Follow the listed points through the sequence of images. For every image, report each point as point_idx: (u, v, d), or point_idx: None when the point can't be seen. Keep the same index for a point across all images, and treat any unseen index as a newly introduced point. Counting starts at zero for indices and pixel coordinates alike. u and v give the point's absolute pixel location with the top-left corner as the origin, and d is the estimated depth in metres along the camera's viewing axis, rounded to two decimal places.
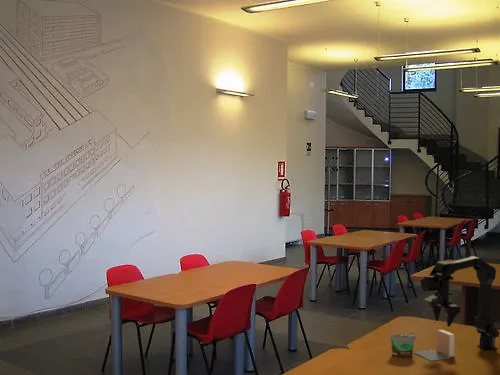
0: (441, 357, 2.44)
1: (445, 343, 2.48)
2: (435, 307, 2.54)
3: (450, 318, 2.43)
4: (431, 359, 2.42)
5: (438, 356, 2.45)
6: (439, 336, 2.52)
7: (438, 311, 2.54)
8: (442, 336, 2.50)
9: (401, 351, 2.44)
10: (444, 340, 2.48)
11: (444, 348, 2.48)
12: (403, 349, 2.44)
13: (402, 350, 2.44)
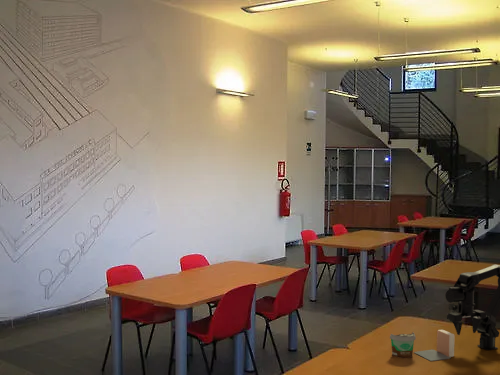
0: (441, 357, 2.44)
1: (445, 343, 2.48)
2: (474, 319, 2.56)
3: (456, 326, 2.52)
4: (431, 359, 2.42)
5: (438, 356, 2.45)
6: (439, 336, 2.52)
7: (476, 324, 2.55)
8: (442, 336, 2.50)
9: (401, 351, 2.44)
10: (444, 340, 2.48)
11: (444, 348, 2.48)
12: (403, 349, 2.44)
13: (402, 350, 2.44)
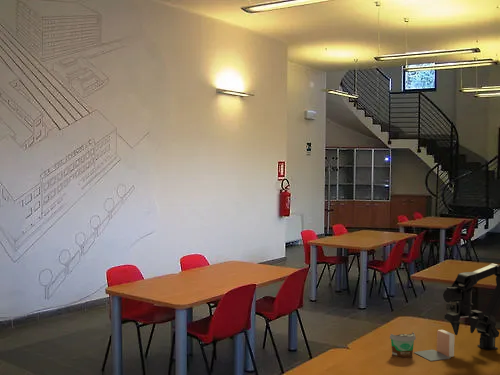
0: (441, 357, 2.44)
1: (445, 343, 2.48)
2: (472, 319, 2.56)
3: (454, 326, 2.51)
4: (431, 359, 2.42)
5: (438, 356, 2.45)
6: (439, 336, 2.52)
7: (473, 324, 2.54)
8: (442, 336, 2.50)
9: (401, 351, 2.44)
10: (444, 340, 2.48)
11: (444, 348, 2.48)
12: (403, 349, 2.44)
13: (402, 350, 2.44)
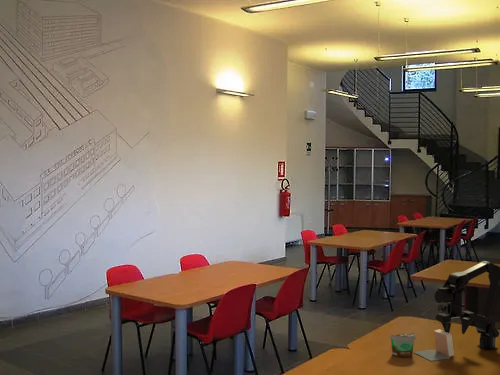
0: (441, 357, 2.44)
1: (443, 343, 2.48)
2: (463, 320, 2.54)
3: (445, 327, 2.50)
4: (431, 359, 2.42)
5: (438, 356, 2.45)
6: (437, 337, 2.51)
7: (465, 325, 2.53)
8: (440, 336, 2.49)
9: (401, 351, 2.44)
10: (442, 340, 2.48)
11: (443, 348, 2.48)
12: (403, 349, 2.44)
13: (402, 350, 2.44)
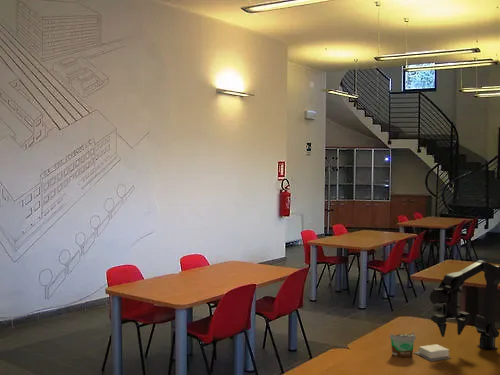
0: (441, 357, 2.44)
1: None
2: (459, 321, 2.53)
3: (441, 328, 2.49)
4: (431, 359, 2.42)
5: None
6: None
7: (460, 326, 2.52)
8: None
9: (401, 351, 2.44)
10: None
11: None
12: (403, 349, 2.44)
13: (402, 350, 2.44)
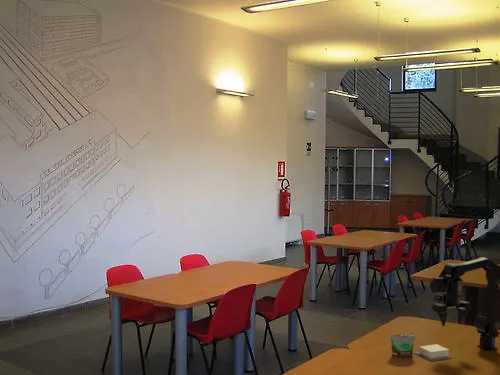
0: (441, 357, 2.44)
1: None
2: (459, 310, 2.54)
3: (441, 317, 2.49)
4: (431, 359, 2.42)
5: None
6: None
7: (461, 315, 2.52)
8: None
9: (401, 351, 2.44)
10: None
11: None
12: (403, 349, 2.44)
13: (402, 350, 2.44)
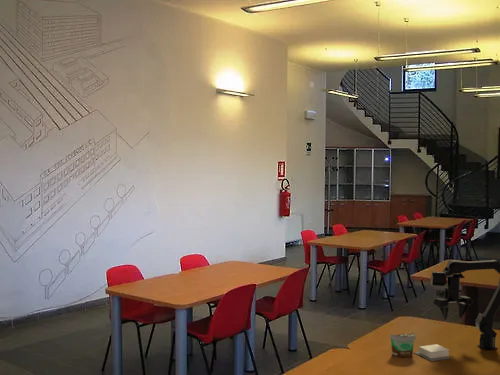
0: (441, 357, 2.44)
1: None
2: (460, 305, 2.63)
3: (443, 311, 2.59)
4: (431, 359, 2.42)
5: None
6: None
7: (462, 309, 2.62)
8: None
9: (401, 351, 2.44)
10: None
11: None
12: (403, 349, 2.44)
13: (402, 350, 2.44)
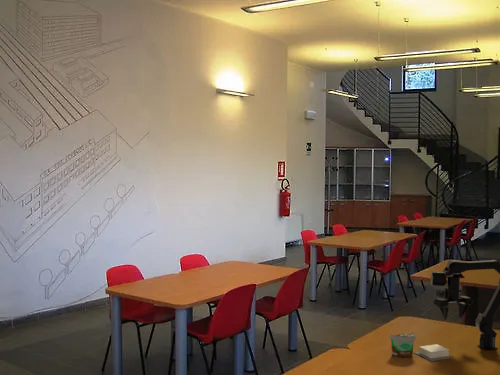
0: (441, 357, 2.44)
1: None
2: (460, 305, 2.63)
3: (443, 311, 2.59)
4: (431, 359, 2.42)
5: None
6: None
7: (462, 309, 2.62)
8: None
9: (401, 351, 2.44)
10: None
11: None
12: (403, 349, 2.44)
13: (402, 350, 2.44)
